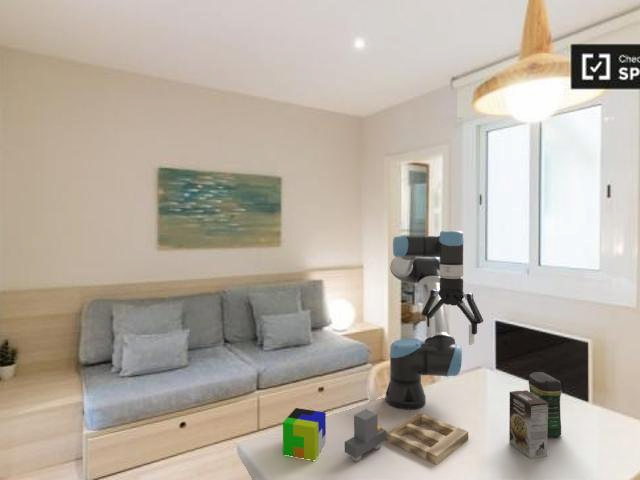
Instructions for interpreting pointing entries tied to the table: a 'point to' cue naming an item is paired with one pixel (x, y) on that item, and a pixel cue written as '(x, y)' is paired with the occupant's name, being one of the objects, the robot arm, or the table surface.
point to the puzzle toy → (304, 433)
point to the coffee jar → (548, 399)
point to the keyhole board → (428, 437)
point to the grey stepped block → (365, 435)
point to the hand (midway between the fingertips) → (451, 340)
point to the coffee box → (528, 423)
